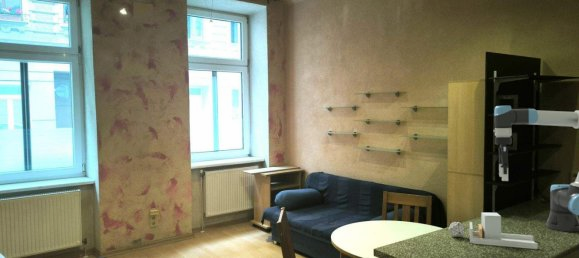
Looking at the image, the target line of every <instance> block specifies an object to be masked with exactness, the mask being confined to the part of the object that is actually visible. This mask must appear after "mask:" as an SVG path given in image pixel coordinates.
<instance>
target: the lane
mask: <svg viewBox="0 0 579 258" xmlns="http://www.w3.org/2000/svg"><path fill="white" fill-rule="evenodd" d="M473 227H474V226H473V221H469V243H470V244H477V245H487V246H499V247H511V248H522V249H531V250H532V249H533V250H538V249H539V247H538V246H539V245H538V242H535V241H534V235H530V234H518V233H517V234H516V233H503V232H501V240H496V239H483V238H479V230H477V231H476V230H473V229H474V228H473Z"/></svg>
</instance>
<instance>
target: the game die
mask: <svg viewBox="0 0 579 258" xmlns="http://www.w3.org/2000/svg"><path fill="white" fill-rule="evenodd" d="M449 222H450V224H449V227H448V228H447V229H446V231H448V232H449V234H451V238H452V239H453V238H456V237H458V238H459V237H461V238H462V239H463V238H464V236H463V235H464V233H465V231H466V230H467V229H468V228H467V227H464V225H463V224H462V221H461V220H459V221H452V220H450V221H449Z"/></svg>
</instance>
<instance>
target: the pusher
mask: <svg viewBox="0 0 579 258" xmlns="http://www.w3.org/2000/svg"><path fill="white" fill-rule="evenodd" d="M478 231H479V238H482V223H478Z"/></svg>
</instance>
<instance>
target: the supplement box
mask: <svg viewBox="0 0 579 258" xmlns="http://www.w3.org/2000/svg"><path fill="white" fill-rule="evenodd" d="M480 214H481V215H480V216H481V225H482V238H483V239H496V240H501V233H502V216H501V215H500V214H499V213H498V212H481V213H480Z"/></svg>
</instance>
